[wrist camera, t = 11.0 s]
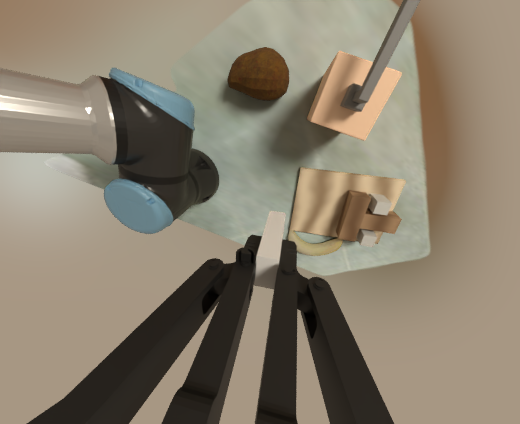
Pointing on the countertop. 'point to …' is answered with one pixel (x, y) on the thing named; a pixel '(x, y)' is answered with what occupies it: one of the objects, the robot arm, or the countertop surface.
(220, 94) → the countertop surface
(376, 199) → the posts
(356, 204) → the tee
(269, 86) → the potato
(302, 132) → the countertop surface
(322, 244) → the fruit
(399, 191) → the board
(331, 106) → the pump bottle
